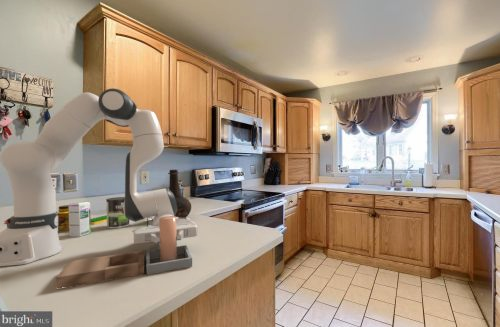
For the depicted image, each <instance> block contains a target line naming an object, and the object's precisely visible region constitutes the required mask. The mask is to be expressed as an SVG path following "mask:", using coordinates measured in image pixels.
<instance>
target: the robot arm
mask: <svg viewBox="0 0 500 327" xmlns="http://www.w3.org/2000/svg"><path fill="white" fill-rule="evenodd" d="M137 106H138V105H137V103H135V102H134V100H133V99H131V97H130V96H129V95H128V94H127V93H126V92H124V91H123V90H121V89H118V88H112V87H111V88H108V89H106V90H105V89H104V90H103V91H102V92H101V93H100V94H99V95H96V94H95V93H92V92H82V93H80V94H79V95H76V97H73V98H72V99H71V100H70V101H68V102H67V103H66V104H65V105H63V107H61V108H60V109H59V110H58V111H57V112H56V113H55V114H54V115H53V116H52V117H50V119H48V120H47V121H46V122H45V123H44V126H43V128H42V130H41V131H40V133H39V134H38V136H37V137H36V138H35V140H34V141H20V142H15V143H11V144H9V145H7V146H6V147H5V148H3V149H2V151H1V153H0V162H1V165H2V166H3V167H4V168H5V170H6V173H7V176H8V179H9V183H10V186H11V190H12V197H13V198H12V199H13V215H12V216H10V217H9V218H7V219H6V220H3V222H4V223H3V225H6V228H5V229H3V230H2V231H1V232H0V267H7V266H18V265H19V266H20V265H26V264H30V263H33V262H35V261H38V260H41V259H45V258H48V257H52V256H54V255H56V254H59V253H60V252H62V251H63V247H62V245H61V242H60V237H59V233H58V211H57V196H56V195H57V190H56V188H55V186H54V183H53V180H52V175H51V173H52V172H54V171H55V170H56V169H58V167H59V166H60V165H61V164H62V163H63V161H64V160H65V159H66V158H67V156H68V155H69V153H70V152H71V151H72V150H73V148H74V147H75V146H76V145H77V144H78V143H79V141H80V140H81V139H83V137H84V136H86V134H87V133H88V132H89V131H90V130H91V129H92V128H94V126H95V125H96V124H98V122H100V121H104V120H105V121H106V122H107V123H110V124H113V125H114V126H118V127H122V128H127V127H129V129H130V132H131V136H132V142H133V143H132V148H131V151H130V152H128V153H127V155H126V158H125V165H124V166H125V171H124V172H125V174H124V175H125V176H124V177H125V178H124V197H125V200H124V206H123V210H124V214H125V216H126V218H127V219H129V221H132V222H135V223H136V222H138V221H141V220H142V221H143V220H145V219H148V218H152V217H153V219H152V222H151V224H152V225H151V226H145V227H144V226H143V227H139V228H137V229H136V230H134V232H133V244H135V245H141V244H148V243H149V244H150V243H154V244H160V223H159V218H161V217H166V216H175V214H176V212H177V203H176V200H175V197H174V195H173V193H172V192H171V191H170V190H169V189H168V188H160V189H156V190H151V191H147V192H141V193H140V192H138V187H137V186H138V184H137V182H138V171H139V170H140V168H142V167H143V166H144V165H147V164H148V163H150V162H152V161H153V160H155V159H157V158H158V157H159V156H160V155H161V154H162V153H163V151H164V149H165V146H164V137H163V132H162V127H161V124H160V121H159V119H158V116H157V114H156V113H155V112H154V111H152V110H150V109H138V107H137ZM198 230H199V229H198V225H197V224H196V222H194V221H193V220H191V219H190V217H176V233H177V241H182V239H187V238H195V237H197V236H198Z"/></svg>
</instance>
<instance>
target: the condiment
mask: <svg viewBox="0 0 500 327" xmlns="http://www.w3.org/2000/svg"><path fill="white" fill-rule="evenodd" d="M57 213H58V227H57V231H58V234H59V233H60V234H61V233H70V231H69V204H67V205H66V204H65V205H59V207H58V211H57Z"/></svg>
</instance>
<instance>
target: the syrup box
mask: <svg viewBox="0 0 500 327" xmlns="http://www.w3.org/2000/svg"><path fill="white" fill-rule="evenodd" d="M68 205H69V231H70V232H69V237H74V238H75V237H77V238H78V237H80V238H81V237H83V236H85V235H89V234H92V227H91V226H92V225H91V219H92V217H91V202H90V201H79V202H72V203H69V204H68Z"/></svg>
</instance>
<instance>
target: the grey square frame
mask: <svg viewBox="0 0 500 327" xmlns="http://www.w3.org/2000/svg"><path fill="white" fill-rule="evenodd" d="M178 255H184V256H185V258H184V257H183V258H177V260H172V261H166V262H160V261H159V262H154V263H150V262H151V260H153V259H157V258H158V259H160V248H159V249H158V248H157V249H151V250H146V275H151V274H152V275H153V274H159V273H165V272H169V271H173V270H175V271H176V270H180V269H186V268H187V269H188V268H191V267H193V257H192V255H191V253H190V251H189V248H188V246H187V245H185V244H184V245H179V246H177V256H178ZM152 258H153V259H152Z"/></svg>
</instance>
